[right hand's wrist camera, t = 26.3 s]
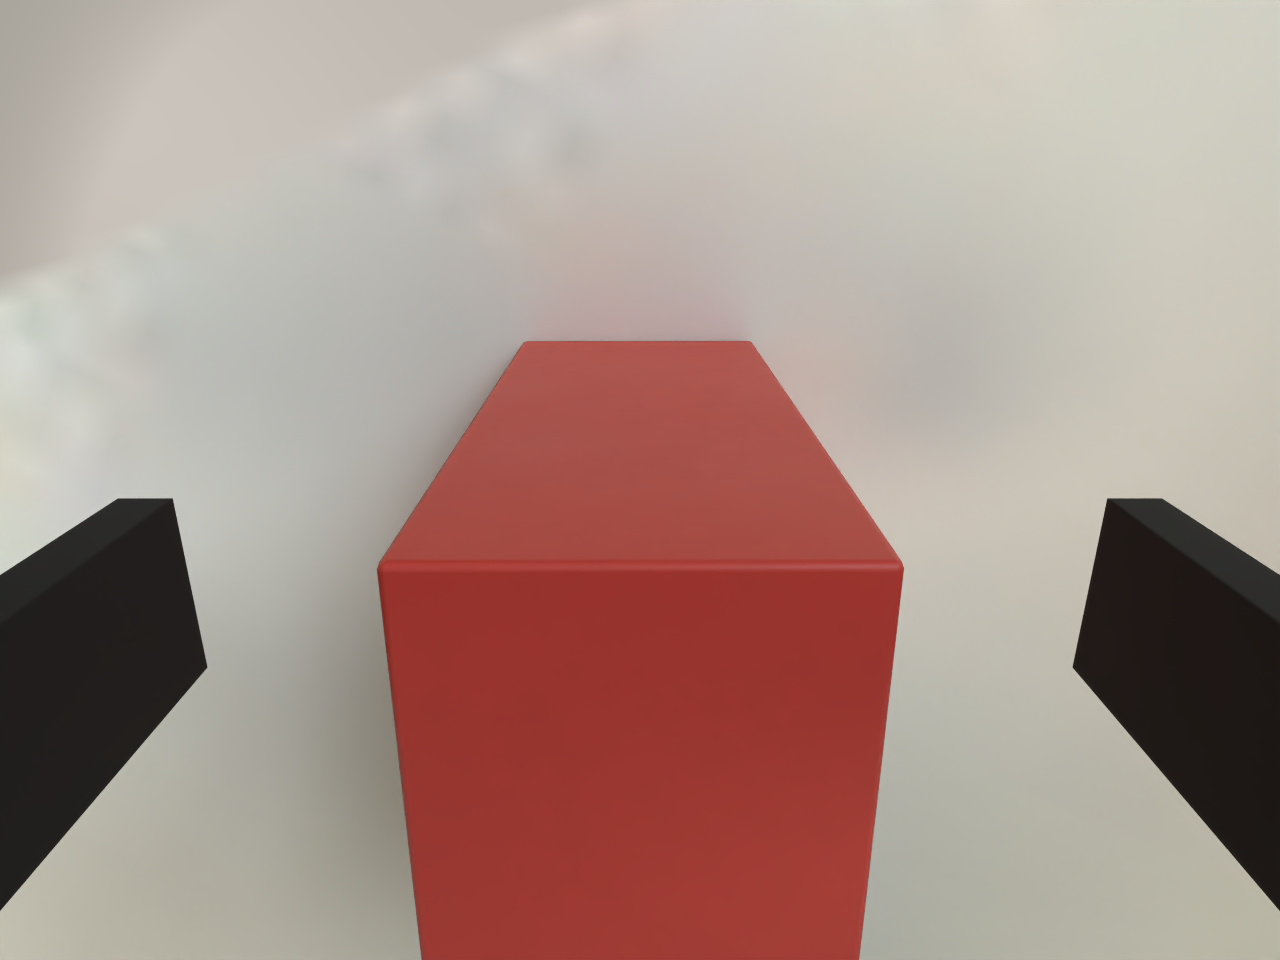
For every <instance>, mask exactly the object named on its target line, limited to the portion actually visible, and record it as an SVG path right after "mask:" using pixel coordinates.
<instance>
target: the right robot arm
mask: <svg viewBox="0 0 1280 960" xmlns="http://www.w3.org/2000/svg"><path fill="white" fill-rule="evenodd" d="M206 668H207V663H206V658H205V654H204V649H203V644H202V639H201V634H200V629H199V624H198V620H197V615H196V610H195V605H194V600H193V595H192V590H191V586H190V581H189V576H188V571H187V566H186V561H185V556H184V551H183V547H182V542H181V537H180V532H179V527H178V522H177V517H176V513H175V508H174V503H173V499H117V500H115V501H114V502H112V503H110V504H109V505H107V506H106V507H104V508H103V509H101V510H100V511H98V512H97V513H95V514H94V515H92V516H90V517H89V518H87V519H86V520H84V521H83V522H81V523H80V524H78V525H77V526H75V527H74V528H72V529H70V530H69V531H67V532H66V533H64V534H63V535H61V536H60V537H58V538H57V539H55V540H54V541H52V542H50V543H49V544H47V545H46V546H44V547H43V548H41V549H40V550H38V551H37V552H35V553H34V554H32V555H30V556H29V557H27V558H26V559H24V560H23V561H21V562H20V563H18V564H17V565H15V566H14V567H12V568H10V569H9V570H7V571H6V572H4V573H3V574H1V575H0V910H1V909H2V908H3V907H4V906H5V905H6V903H7V902H8V901H9V900H10V899H11V897H12V896H13V895H14V894H15V893H16V892H17V890H18V889H19V888H20V887H21V886H22V885H23V883H24V882H25V881H26V880H27V879H28V878H29V876H30V875H31V874H32V873H33V872H34V870H35V869H36V868H37V867H38V866H39V865H40V863H41V862H42V861H43V860H44V859H45V858H46V856H47V855H48V854H49V853H50V852H51V850H52V849H53V848H54V847H55V846H56V845H57V843H58V842H59V841H60V840H61V839H62V838H63V836H64V835H65V834H66V833H67V832H68V831H69V829H70V828H71V827H72V826H73V825H74V823H75V822H76V821H77V820H78V819H79V818H80V816H81V815H82V814H83V813H84V812H85V811H86V809H87V808H88V807H89V806H90V805H91V803H92V802H93V801H94V800H95V799H96V798H97V796H98V795H99V794H100V793H101V792H102V791H103V789H104V788H105V787H106V786H107V785H108V784H109V782H110V781H111V780H112V779H113V778H114V776H115V775H116V774H117V773H118V772H119V771H120V769H121V768H122V767H123V766H124V765H125V764H126V762H127V761H128V760H129V759H130V758H131V757H132V755H133V754H134V753H135V752H136V751H137V749H138V748H139V747H140V746H141V745H142V744H143V742H144V741H145V740H146V739H147V738H148V737H149V735H150V734H151V733H152V732H153V731H154V729H155V728H156V727H157V726H158V725H159V724H160V722H161V721H162V720H163V719H164V718H165V717H166V715H167V714H168V713H169V712H170V711H171V710H172V708H173V707H174V706H175V705H176V704H177V702H178V701H179V700H180V699H181V698H182V697H183V695H184V694H185V693H186V692H187V691H188V690H189V688H190V687H191V686H192V685H193V684H194V682H195V681H196V680H197V679H198V678H199V677H200V675H201V674H202V673H203V672H204V671H205V670H206ZM1073 668H1074V670H1075V671H1076V672H1077V673H1078V674H1079V675H1080V677H1081V678H1082V679H1083V680H1084V681H1085V682H1086V684H1087V685H1088V686H1089V687H1090V688H1091V690H1092V691H1093V692H1094V693H1095V694H1096V695H1097V697H1098V698H1099V699H1100V700H1101V701H1102V702H1103V704H1104V705H1105V706H1106V707H1107V708H1108V710H1109V711H1110V712H1111V713H1112V714H1113V715H1114V717H1115V718H1116V719H1117V720H1118V721H1119V722H1120V724H1121V725H1122V726H1123V727H1124V728H1125V729H1126V731H1127V732H1128V733H1129V734H1130V735H1131V737H1132V738H1133V739H1134V740H1135V741H1136V742H1137V744H1138V745H1139V746H1140V747H1141V748H1142V749H1143V751H1144V752H1145V753H1146V754H1147V755H1148V757H1149V758H1150V759H1151V760H1152V761H1153V762H1154V764H1155V765H1156V766H1157V767H1158V768H1159V769H1160V771H1161V772H1162V773H1163V774H1164V775H1165V776H1166V778H1167V779H1168V780H1169V781H1170V782H1171V784H1172V785H1173V786H1174V787H1175V788H1176V789H1177V791H1178V792H1179V793H1180V794H1181V795H1182V796H1183V798H1184V799H1185V800H1186V801H1187V802H1188V803H1189V805H1190V806H1191V807H1192V808H1193V809H1194V811H1195V812H1196V813H1197V814H1198V815H1199V816H1200V818H1201V819H1202V820H1203V821H1204V822H1205V823H1206V825H1207V826H1208V827H1209V828H1210V829H1211V831H1212V832H1213V833H1214V834H1215V835H1216V836H1217V838H1218V839H1219V840H1220V841H1221V842H1222V843H1223V845H1224V846H1225V847H1226V848H1227V849H1228V850H1229V852H1230V853H1231V854H1232V855H1233V856H1234V858H1235V859H1236V860H1237V861H1238V862H1239V863H1240V865H1241V866H1242V867H1243V868H1244V869H1245V870H1246V872H1247V873H1248V874H1249V875H1250V876H1251V878H1252V879H1253V880H1254V881H1255V882H1256V883H1257V885H1258V886H1259V887H1260V888H1261V889H1262V890H1263V892H1264V893H1265V894H1266V895H1267V896H1268V897H1269V899H1270V900H1271V901H1272V902H1273V903H1274V905H1275V906H1276V907H1277V908H1278V909H1279V910H1280V575H1279V574H1277V573H1276V572H1274V571H1273V570H1271V569H1270V568H1268V567H1266V566H1265V565H1263V564H1262V563H1260V562H1259V561H1257V560H1256V559H1254V558H1253V557H1251V556H1250V555H1248V554H1246V553H1245V552H1243V551H1242V550H1240V549H1239V548H1237V547H1236V546H1234V545H1233V544H1231V543H1230V542H1228V541H1226V540H1225V539H1223V538H1222V537H1220V536H1219V535H1217V534H1216V533H1214V532H1213V531H1211V530H1210V529H1208V528H1206V527H1205V526H1203V525H1202V524H1200V523H1199V522H1197V521H1196V520H1194V519H1193V518H1191V517H1190V516H1188V515H1186V514H1185V513H1183V512H1182V511H1180V510H1179V509H1177V508H1176V507H1174V506H1173V505H1171V504H1170V503H1168V502H1166V501H1165V500H1163V499H1107V503H1106V508H1105V513H1104V517H1103V522H1102V527H1101V532H1100V537H1099V542H1098V547H1097V551H1096V556H1095V561H1094V566H1093V571H1092V576H1091V581H1090V585H1089V590H1088V595H1087V600H1086V605H1085V610H1084V615H1083V620H1082V624H1081V629H1080V634H1079V639H1078V644H1077V649H1076V654H1075V658H1074V663H1073Z"/></svg>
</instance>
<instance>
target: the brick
mask: <svg viewBox="0 0 1280 960" xmlns="http://www.w3.org/2000/svg"><path fill="white" fill-rule="evenodd" d="M903 572H904V567H903V564H902V561H901V560H900V558H899V557H898V556H897V554H896V553H895V551H894V550H893V548H892V547H891V545H890V544H889V542H888V541H887V539H886V538H885V537H884V535H883V534H882V532H881V531H880V529H879V528H878V526H877V525H876V523H875V522H874V521H873V519H872V518H871V516H870V515H869V513H868V512H867V510H866V509H865V507H864V506H863V504H862V503H861V502H860V500H859V499H858V497H857V496H856V494H855V493H854V491H853V490H852V488H851V487H850V485H849V484H848V483H847V481H846V480H845V478H844V477H843V475H842V474H841V472H840V471H839V469H838V468H837V466H836V465H835V464H834V462H833V461H832V459H831V458H830V456H829V455H828V453H827V452H826V450H825V449H824V448H823V446H822V445H821V443H820V442H819V440H818V439H817V437H816V436H815V434H814V433H813V431H812V430H811V429H810V427H809V426H808V424H807V423H806V421H805V420H804V418H803V417H802V415H801V414H800V412H799V411H798V410H797V408H796V407H795V405H794V404H793V402H792V401H791V399H790V398H789V396H788V395H787V393H786V392H785V391H784V389H783V388H782V386H781V385H780V383H779V382H778V380H777V379H776V377H775V376H774V375H773V373H772V372H771V370H770V369H769V367H768V366H767V364H766V363H765V361H764V360H763V358H762V357H761V356H760V354H759V353H758V351H757V350H756V348H755V347H754V345H753V344H752V343H751V342H749V341H527V342H524V343H523V345H522V346H521V348H520V349H519V351H518V352H517V354H516V355H515V357H514V358H513V360H512V361H511V363H510V364H509V366H508V368H507V369H506V371H505V372H504V374H503V375H502V377H501V378H500V380H499V381H498V383H497V384H496V386H495V387H494V389H493V390H492V392H491V393H490V395H489V396H488V398H487V399H486V401H485V403H484V404H483V406H482V407H481V409H480V410H479V412H478V413H477V415H476V416H475V418H474V419H473V421H472V422H471V424H470V425H469V427H468V428H467V430H466V431H465V433H464V434H463V436H462V438H461V439H460V441H459V442H458V444H457V445H456V447H455V448H454V450H453V451H452V453H451V454H450V456H449V457H448V459H447V460H446V462H445V463H444V465H443V466H442V468H441V470H440V471H439V473H438V474H437V476H436V477H435V479H434V480H433V482H432V483H431V485H430V486H429V488H428V489H427V491H426V492H425V494H424V495H423V497H422V498H421V500H420V501H419V503H418V505H417V506H416V508H415V509H414V511H413V512H412V514H411V515H410V517H409V518H408V520H407V521H406V523H405V524H404V526H403V527H402V529H401V530H400V532H399V533H398V535H397V536H396V538H395V540H394V541H393V543H392V544H391V546H390V547H389V549H388V550H387V552H386V553H385V555H384V556H383V558H382V559H381V561H380V562H379V565H378V568H377V574H378V583H379V591H380V600H381V609H382V618H383V626H384V635H385V644H386V653H387V661H388V670H389V679H390V688H391V696H392V705H393V714H394V723H395V731H396V740H397V749H398V758H399V766H400V775H401V784H402V793H403V801H404V810H405V819H406V828H407V836H408V845H409V854H410V863H411V871H412V880H413V889H414V898H415V906H416V915H417V924H418V933H419V941H420V950H421V959H422V960H859V956H860V947H861V938H862V930H863V921H864V912H865V903H866V895H867V886H868V877H869V868H870V860H871V851H872V842H873V833H874V825H875V816H876V807H877V799H878V790H879V781H880V772H881V764H882V755H883V746H884V737H885V729H886V720H887V711H888V703H889V694H890V685H891V676H892V668H893V659H894V650H895V641H896V633H897V624H898V615H899V606H900V598H901V589H902V580H903Z"/></svg>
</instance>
